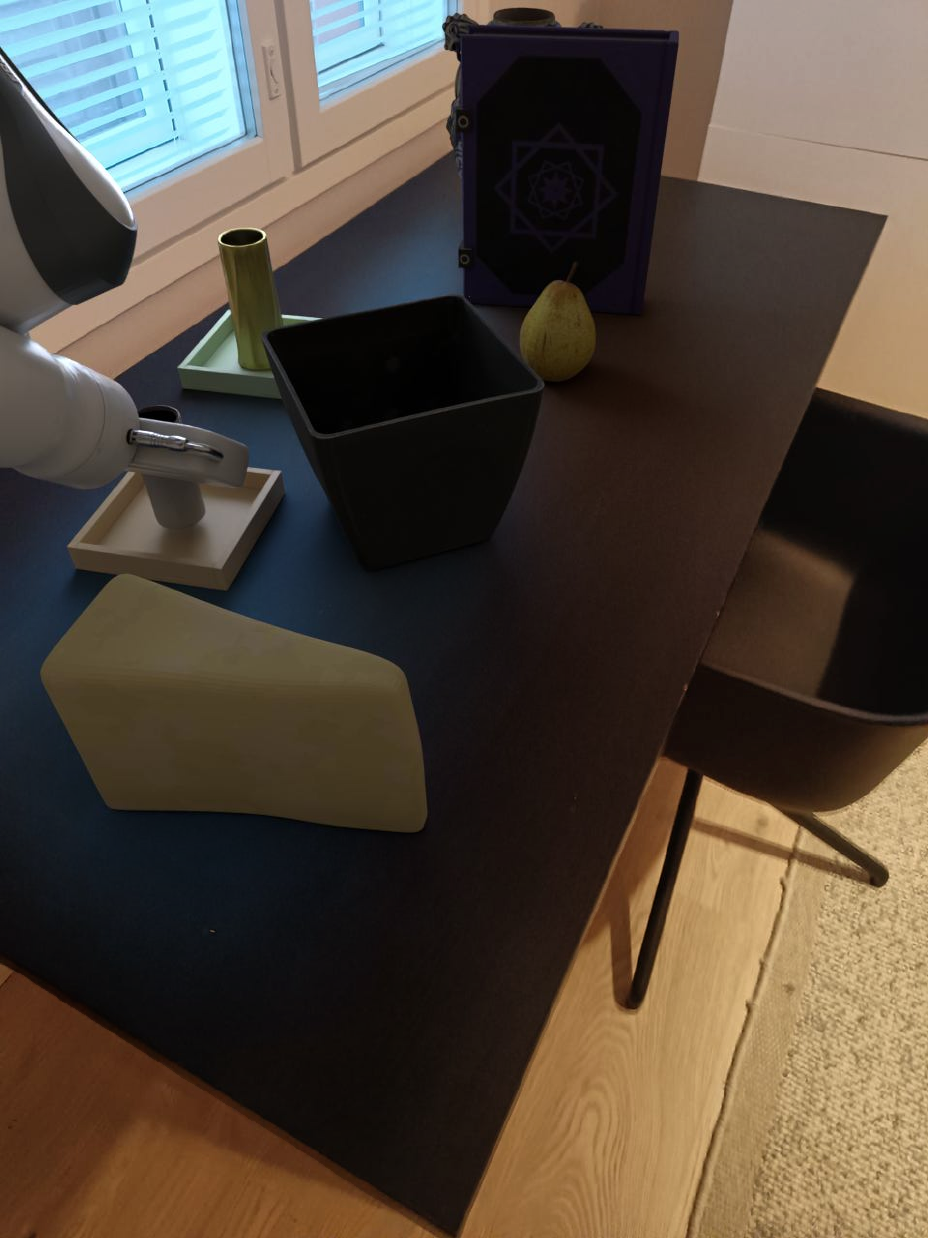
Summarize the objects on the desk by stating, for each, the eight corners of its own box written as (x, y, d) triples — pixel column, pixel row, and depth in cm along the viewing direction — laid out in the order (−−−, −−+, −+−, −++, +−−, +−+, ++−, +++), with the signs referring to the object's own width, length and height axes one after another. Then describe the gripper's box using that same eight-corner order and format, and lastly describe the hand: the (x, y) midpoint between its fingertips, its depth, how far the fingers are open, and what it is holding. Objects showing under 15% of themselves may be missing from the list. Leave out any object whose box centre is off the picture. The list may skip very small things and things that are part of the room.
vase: (245, 375, 103) (220, 252, 93) (232, 352, 107) (207, 231, 97) (296, 364, 105) (277, 242, 95) (282, 341, 109) (262, 221, 99)
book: (643, 295, 118) (679, 28, 97) (641, 317, 114) (678, 43, 93) (467, 283, 121) (465, 22, 100) (459, 304, 117) (455, 36, 96)
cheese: (446, 769, 64) (440, 622, 54) (403, 889, 58) (387, 748, 47) (170, 707, 69) (115, 560, 58) (102, 811, 62) (25, 667, 52)
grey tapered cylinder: (147, 514, 83) (115, 418, 76) (190, 494, 85) (163, 398, 78) (171, 536, 81) (141, 440, 74) (215, 515, 83) (190, 419, 76)
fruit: (529, 394, 101) (534, 291, 92) (509, 355, 107) (512, 256, 99) (602, 385, 102) (614, 283, 94) (578, 347, 108) (587, 248, 100)
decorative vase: (596, 220, 136) (617, 0, 117) (579, 270, 124) (599, 33, 104) (460, 209, 140) (458, -6, 120) (430, 257, 127) (422, 26, 108)
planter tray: (75, 568, 80) (66, 546, 79) (149, 475, 91) (142, 453, 89) (227, 591, 78) (221, 569, 76) (285, 492, 88) (281, 470, 86)
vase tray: (182, 388, 103) (177, 367, 101) (232, 328, 113) (228, 309, 111) (303, 401, 100) (299, 380, 98) (342, 339, 110) (340, 319, 109)
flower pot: (285, 484, 89) (256, 325, 77) (461, 443, 94) (460, 288, 82) (338, 606, 77) (314, 439, 65) (538, 551, 82) (549, 387, 70)
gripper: (209, 403, 64) (284, 444, 78) (-35, 368, 68) (76, 412, 82) (194, 490, 64) (271, 515, 78) (-49, 449, 68) (65, 480, 82)
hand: (170, 462), depth 80 cm, fingers closed on grey tapered cylinder, 4 cm apart
